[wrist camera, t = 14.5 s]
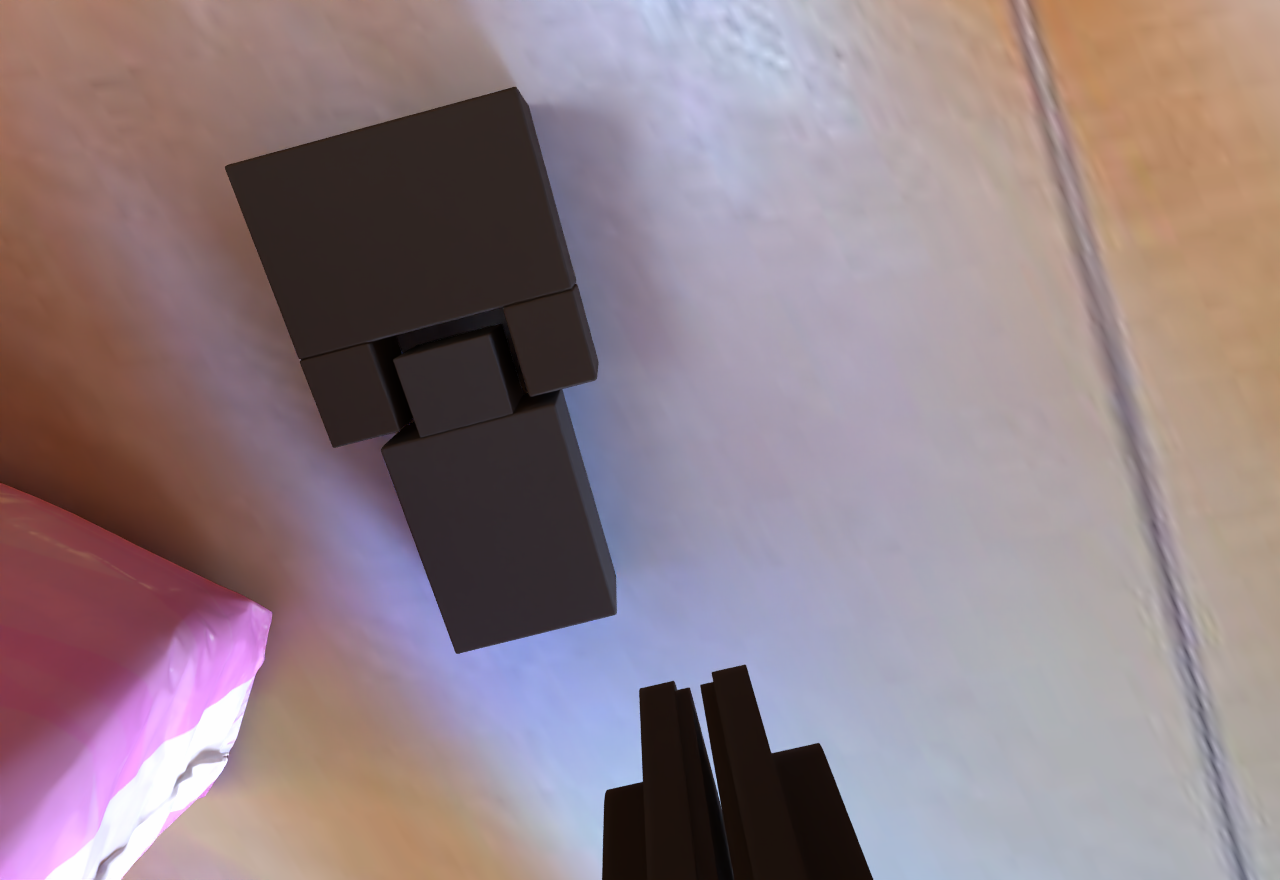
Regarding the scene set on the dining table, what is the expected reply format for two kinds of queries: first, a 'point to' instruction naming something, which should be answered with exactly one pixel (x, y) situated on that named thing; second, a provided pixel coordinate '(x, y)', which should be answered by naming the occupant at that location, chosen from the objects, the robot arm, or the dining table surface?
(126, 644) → the package of pads
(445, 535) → the pad
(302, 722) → the dining table surface
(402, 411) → the notch pad
